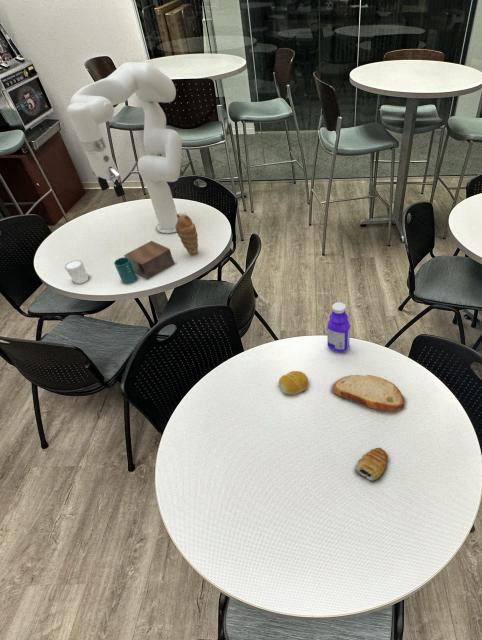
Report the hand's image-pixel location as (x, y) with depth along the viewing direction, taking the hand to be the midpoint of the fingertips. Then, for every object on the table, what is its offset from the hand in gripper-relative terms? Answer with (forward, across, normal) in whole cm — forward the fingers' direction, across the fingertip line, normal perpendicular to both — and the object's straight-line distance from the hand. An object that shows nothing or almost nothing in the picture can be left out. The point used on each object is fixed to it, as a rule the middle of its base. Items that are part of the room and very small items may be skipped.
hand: (113, 192), depth 162 cm
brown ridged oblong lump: (+29, -18, -15) cm, 37 cm away
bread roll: (+27, -102, +20) cm, 108 cm away
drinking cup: (+24, -11, +10) cm, 28 cm away
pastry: (+26, -137, +31) cm, 143 cm away
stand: (+28, -11, +2) cm, 30 cm away
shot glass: (+28, +7, +25) cm, 38 cm away
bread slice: (+27, -124, +10) cm, 127 cm away
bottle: (+28, -104, -2) cm, 108 cm away
